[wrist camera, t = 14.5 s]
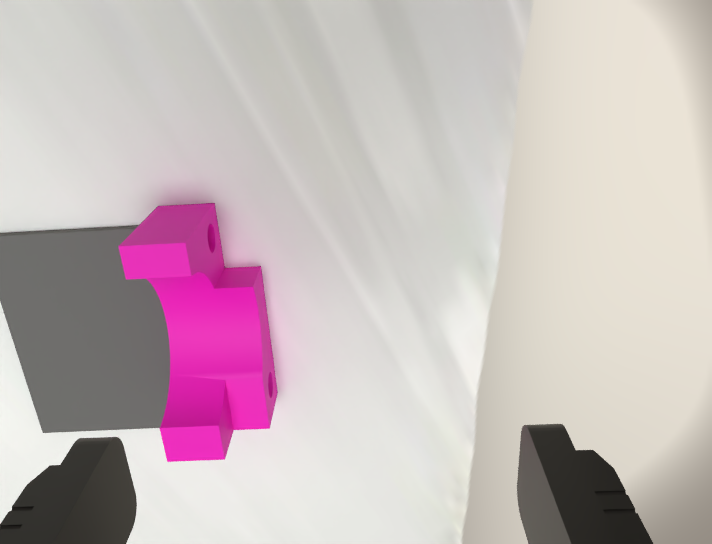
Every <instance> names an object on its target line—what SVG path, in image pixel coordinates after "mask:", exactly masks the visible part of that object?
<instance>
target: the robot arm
mask: <svg viewBox="0 0 712 544" xmlns="http://www.w3.org/2000/svg"><path fill="white" fill-rule="evenodd" d="M518 469H519V470H518V482H517V494H518V505H519V511H520V516H521V520H522V523H523V526H524V530H525V533H526V537H527V540H528V543H529V544H653V542H652V540H651V538H650V536H649V534H648V533H647V531H646V529H645V527H644V525H643V523H642V521H641V519H640V518H639V515H638V514H637V513H635V508H634V506H633V504H632V502H631V500H630V498H629V496H628V495H626V493H625V489H624V487H623V485H622V483H621V481H620V479H619V477H618V475H617V474H616V472H615V470H614V468H613V467H612V466H611V465H609V464H608V463H607V462H606V461H605V460H604V459H603V458H602V457H600V456H599V455H598V454H597V453H596V452H595V451H593V450H577V451H576V450H575V448H574V446H573V444H572V441H571V439H570V437H569V435H568V433H567V431H566V429H565V427H564V426H563V425H562V424H546V425H524V426H523V428H522V431H521V442H520V456H519V468H518ZM136 506H137V503H136V494H135V490H134V486H133V482H132V478H131V474H130V470H129V466H128V462H127V458H126V454H125V450H124V446H123V443H122V441H121V440H120V439H119V438H118V437H106V438H80V439H78V440H77V441H76V442H75V443H74V444H73V446H72V447H71V449H70V451H69V452H68V454H67V455H66V457H65V458H64V460H63V462H62V463H61V465H52V466H49V467H48V468H47V469H45V470H44V471H43V472H42V473H41V474H39V475H38V476H37V477H36V478H35V479H33V480H32V481H31V482H30V483H29V484H27V486H26V487H25V488H24V490H23V491H22V493H21V494H20V496H19V497H18V499H17V500H16V502H15V503H14V505H13V506H12V511H9V512H8V514H7V515H6V517H5V518H4V520H3V521H2V522H1V524H0V544H126V542H127V540H128V538H129V535H130V533H131V531H132V528H133V525H134V522H135V517H136Z"/></svg>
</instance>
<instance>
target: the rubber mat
mask: <svg viewBox="0 0 712 544" xmlns="http://www.w3.org/2000/svg"><path fill="white" fill-rule="evenodd" d="M137 227H138V226H123V227H105V228H87V229H69V230H51V231H33V232H15V233H0V301H1V304H2V308H3V311H4V314H5V317H6V320H7V323H8V326H9V329H10V332H11V335H12V339H13V342H14V345H15V348H16V351H17V354H18V357H19V360H20V363H21V366H22V370H23V373H24V376H25V379H26V382H27V385H28V388H29V391H30V394H31V397H32V401H33V404H34V407H35V410H36V413H37V416H38V419H39V422H40V425H41V428H42V431H43V433H51V432H74V431H96V430H119V429H141V428H160V426H161V423H162V420H163V417H164V413H165V409H166V404H167V398H168V391H169V381H170V346H169V336H168V329H167V323H166V318H165V314H164V310H163V307H162V304H161V301H160V299H159V297H158V294H157V292H156V291H155V289H154V287H153V286H152V284H151V283H150V282H149V281H148V280H147V279H128V280H126V278H125V273H124V269H123V265H122V260H121V256H120V251H119V247H118V246H119V245H120V244H121V243H122V242H123V241H124V240H125V239H126V238H127V237H128V236H129V235H130V234H131V233H132V232H133V231H134V230H135V229H136V228H137Z"/></svg>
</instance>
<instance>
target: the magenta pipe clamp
mask: <svg viewBox="0 0 712 544" xmlns="http://www.w3.org/2000/svg"><path fill="white" fill-rule="evenodd" d="M118 247H119V251H120V256H121V260H122V265H123V269H124V273H125V278H126V280H128V279H147V280H148V281H149V282H150V283H151V284H152V286H153V287H154V289H155V291H156V292H157V294H158V297H159V299H160V301H161V304H162V307H163V310H164V314H165V318H166V323H167V329H168V336H169V346H170V381H169V391H168V398H167V404H166V409H165V413H164V417H163V420H162V423H161V426H160V431H161V436H162V440H163V444H164V449H165V453H166V458H167V462H171V461H196V460H221V459H225V457H226V454H227V450H228V447H229V444H230V440H231V437H232V434H233V430H245V429H269V428H270V424H271V420H272V415H273V411H274V406H275V402H276V397H277V385H276V378H275V370H274V362H273V355H272V347H271V340H270V332H269V324H268V317H267V309H266V302H265V294H264V286H263V279H262V271H261V266H257V267H238V268H225V267H224V260H223V254H222V248H221V241H220V235H219V229H218V222H217V216H216V210H215V203H206V204H188V205H170V206H158V207H157V208H156V209H155V210H154V211H153V212H152V213H151V214H150V215H149V216H148V217H147V218H146V219H145V220H144V221H143V222H142V223H141V224H140V225H139V226H138V227H137V228H136V229H135V230H134V231H133V232H132V233H131V234H130V235H129V236H128V237H127V238H126V239H125V240H124V241H123V242H122V243H121V244H120V245H119V246H118Z"/></svg>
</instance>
